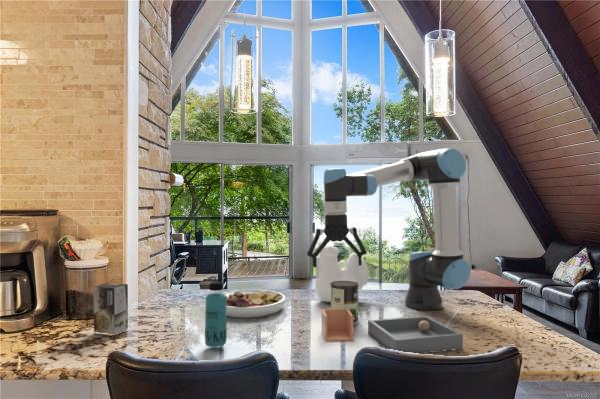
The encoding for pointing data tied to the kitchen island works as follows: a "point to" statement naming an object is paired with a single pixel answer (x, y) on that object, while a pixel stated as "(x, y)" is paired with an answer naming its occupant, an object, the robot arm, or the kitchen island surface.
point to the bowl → (253, 303)
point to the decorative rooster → (337, 272)
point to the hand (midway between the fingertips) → (337, 276)
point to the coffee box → (110, 308)
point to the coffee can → (345, 297)
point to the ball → (424, 326)
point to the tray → (414, 335)
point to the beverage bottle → (215, 316)
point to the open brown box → (337, 325)
